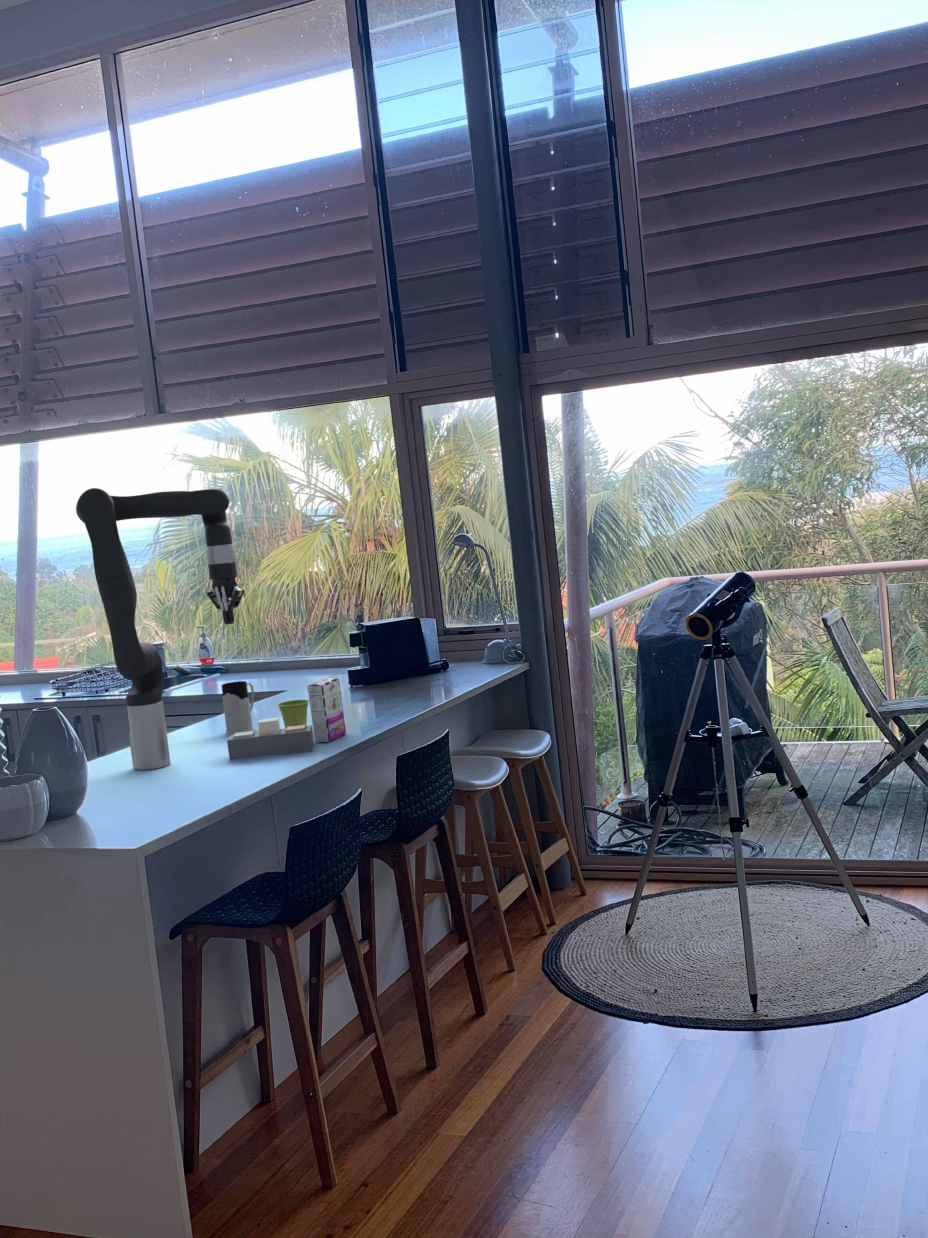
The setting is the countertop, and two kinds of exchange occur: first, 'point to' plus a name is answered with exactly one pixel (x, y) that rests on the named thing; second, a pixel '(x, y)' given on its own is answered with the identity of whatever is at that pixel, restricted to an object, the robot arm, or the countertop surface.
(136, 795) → the countertop surface
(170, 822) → the countertop surface
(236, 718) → the pitcher
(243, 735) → the key sage
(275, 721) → the key sand
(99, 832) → the countertop surface
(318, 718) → the candy bar box
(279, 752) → the grey long block
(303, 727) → the key terracotta
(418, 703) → the countertop surface
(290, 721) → the plant pot
